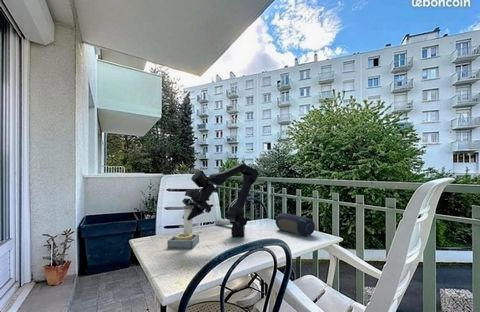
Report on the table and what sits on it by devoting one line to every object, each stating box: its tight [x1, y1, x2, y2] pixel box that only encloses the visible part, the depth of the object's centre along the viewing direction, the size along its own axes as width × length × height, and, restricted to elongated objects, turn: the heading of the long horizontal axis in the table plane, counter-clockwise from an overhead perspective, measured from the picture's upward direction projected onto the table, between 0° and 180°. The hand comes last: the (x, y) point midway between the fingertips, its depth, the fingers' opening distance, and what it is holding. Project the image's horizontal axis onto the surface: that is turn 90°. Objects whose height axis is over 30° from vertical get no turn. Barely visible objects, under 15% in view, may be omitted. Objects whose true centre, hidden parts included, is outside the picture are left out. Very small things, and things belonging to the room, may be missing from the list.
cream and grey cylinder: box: [183, 205, 193, 234], centre depth 122 cm, size 4×4×12 cm
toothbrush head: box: [214, 217, 246, 230], centre depth 164 cm, size 5×7×25 cm
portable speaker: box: [275, 212, 316, 237], centre depth 148 cm, size 25×10×10 cm, turn 34°
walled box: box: [166, 232, 200, 250], centre depth 127 cm, size 12×12×4 cm
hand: (185, 219), depth 122 cm, fingers closed on cream and grey cylinder, 4 cm apart
